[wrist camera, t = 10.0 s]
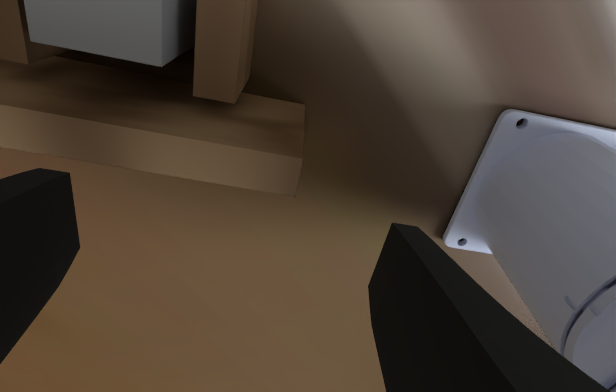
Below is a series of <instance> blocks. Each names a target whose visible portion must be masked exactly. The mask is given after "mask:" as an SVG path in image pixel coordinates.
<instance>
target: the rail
mask: <svg viewBox="0 0 616 392" xmlns="http://www.w3.org/2000/svg"><path fill="white" fill-rule="evenodd" d="M24 5H25V11H26V17H27V23H28V29H29V35H30V41H32V42H37V43H42V44H48V45H53V46H58V47H63V48H68V49H73V50H78V51H83V52H88V53H93V54H98V55H103V56H108V57H113V58H119V59H124V60H129V61H134V62H139V63H144V64H149V65H154V66H159V67H162V66H164V65H165V64H167V63H169V62H170V61H172V60H173V59H175V58H176V57H178V56H179V55H181V54H182V53H184V52H186V51H187V50H189V49H190V48H192V47H193V46H195V33H196V10H197V0H24Z"/></svg>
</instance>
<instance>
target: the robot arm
mask: <svg viewBox="0 0 616 392" xmlns="http://www.w3.org/2000/svg"><path fill="white" fill-rule="evenodd" d="M522 118H524V121H523V123H522V124H521V125H519V126H516V123H517V122H518V120H520V119H522ZM461 238H464V240H462V241H458V240H459V239H461ZM443 241H444V243H445V245H447V246H448V247H452V248H458V249H464V250H471V251H477V252H483V253H489V254H493V255H494V256H495V258H496V259H497V261H498V263H499V264H500V266H501V267H502V269H503V270H504V272H505V273H506V275H507V276H508V278H509V280H510V281H511V283H512V284H513V286H514V287H515V289H516V290H517V292H518V293H519V295H520V297H521V298H522V300H523V301H524V303H525V304H526V306H527V307H528V309H529V310H530V312H531V314H532V315H533V317H534V318H535V320H536V321H537V323H538V324H539V326H540V327H541V329H542V331H543V332H544V334H545V335H546V337H547V338H548V340H549V341H550V343H551V344H552V346H553V348H554V349H555V350H554V349H553V348H552V347H550V346H549V345H548V344H546V343H545V342H544V341H543V340H542V339H540V338H539V337H538V336H537V335H535V334H534V333H533V332H532V331H531V330H529V329H528V328H527V327H526V326H525V325H523V324H522V323H521V322H520V321H519V320H518V319H517V318H515V317H514V316H513V315H512V314H511V313H510V312H508V311H507V310H506V309H505V308H504V307H503V306H502V305H500V304H499V303H498V302H497V301H496V300H495V299H494V298H493V297H492V296H490V295H489V294H488V293H487V292H486V291H485V290H484V289H483V288H482V287H481V286H480V285H479V284H478V283H476V282H475V281H474V280H473V279H472V278H471V277H470V276H469V275H468V274H467V273H466V272H465V271H464V270H463V269H462V268H461V267H460V266H459V265H458V264H457V263H456V262H455V261H454V260H453V259H451V258H450V257H449V256H448V255H447V254H446V253H445V252H444V251H443V250H442V249H441V248H440V247H439V246H438V245H437V244H436V243H435V242H434V241H433V240H432V239H431V238H430V237H428V236H427V235H426V234H425V233H424V232H423V231H422V230H420V229H419V228H418V227H417V226H410V225H404V224H397V223H392V224H391V227H390V230H389V232H388V235H387V238H386V240H385V243H384V245H383V248H382V251H381V253H380V256H379V259H378V261H377V264H376V267H375V269H374V272H373V275H372V277H371V280H370V283H369V285H368V289H369V303H370V314H371V323H372V329H373V334H374V338H375V343H376V348H377V352H378V357H379V361H380V366H381V370H382V374H383V379H384V383H385V388H386V392H616V130H614V129H609V128H604V127H599V126H594V125H590V124H585V123H580V122H575V121H570V120H565V119H560V118H555V117H550V116H545V115H540V114H536V113H531V112H526V111H521V110H516V109H508V110H505V111H504V112H502V113H501V115H500V116H499V118H498V120H497V122H496V124H495V126H494V128H493V130H492V133H491V135H490V137H489V139H488V141H487V143H486V145H485V147H484V150H483V152H482V154H481V156H480V158H479V160H478V162H477V165H476V167H475V169H474V171H473V173H472V175H471V177H470V180H469V182H468V184H467V186H466V188H465V190H464V192H463V195H462V197H461V199H460V201H459V203H458V205H457V207H456V210H455V212H454V214H453V216H452V218H451V220H450V222H449V224H448V227H447V229H446V231H445V233H444V235H443ZM79 249H80V243H79V236H78V228H77V221H76V214H75V207H74V200H73V193H72V185H71V178H70V173H68V172H61V171H55V170H48V169H42V168H38V169H34V170H30V171H26V172H22V173H19V174H16V175H12V176H9V177H6V178H3V179H0V364H1V362H2V361H3V360H4V359H5V357H6V356H7V355H8V353H9V352H10V351H11V349H12V348H13V347H14V345H15V344H16V343H17V341H18V340H19V339H20V337H21V336H22V335H23V334H24V332H25V331H26V330H27V328H28V327H29V326H30V324H31V323H32V322H33V320H34V319H35V318H36V316H37V315H38V314H39V312H40V311H41V310H42V308H43V307H44V306H45V304H46V303H47V302H48V300H49V299H50V298H51V296H52V295H53V293H54V292H55V291H56V289H57V288H58V287H59V285H60V283H61V281H62V280H63V278H64V276H65V274H66V273H67V271H68V269H69V267H70V266H71V264H72V262H73V260H74V258H75V256H76V254H77V252H78V251H79Z"/></svg>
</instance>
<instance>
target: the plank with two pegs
mask: <svg viewBox="0 0 616 392" xmlns="http://www.w3.org/2000/svg"><path fill="white" fill-rule="evenodd" d="M258 2H259V0H197V10H196V33H195V57H194V80H193V83H191V82H186V81H181V80H176V79H170V78H165V77H160V76H155V75H150V74H145V73H140V72H134V71H129V70H124V69H119V68H114V67H109V66H104V65H98V64H93V63H88V62H83V61H78V60H73V59H68V58H62V57H57V56H55V55H58V54H61V53H64V52H67V51H70V50H73V49H68V48H63V47H58V46H53V45H48V44H42V43H37V42H32V41H30V35H29V29H28V23H27V17H26V11H25V5H24V0H0V147H4V148H10V149H16V150H22V151H28V152H34V153H40V154H45V155H51V156H57V157H63V158H69V159H75V160H81V161H87V162H92V163H98V164H104V165H110V166H116V167H122V168H128V169H134V170H139V171H145V172H151V173H157V174H163V175H169V176H175V177H180V178H186V179H192V180H198V181H204V182H210V183H216V184H222V185H227V186H233V187H239V188H245V189H251V190H257V191H263V192H268V193H274V194H280V195H286V196H292V197H296V192H297V187H298V182H299V178H300V173H301V168H302V163H303V156H304V126H305V105H304V104H299V103H294V102H289V101H284V100H279V99H273V98H268V97H263V96H258V95H253V94H248V93H243V92H242V90H243V88H244V87H245V85H246V83H247V81H248V79H249V78H250V71H251V62H252V54H253V45H254V36H255V28H256V19H257V11H258Z"/></svg>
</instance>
